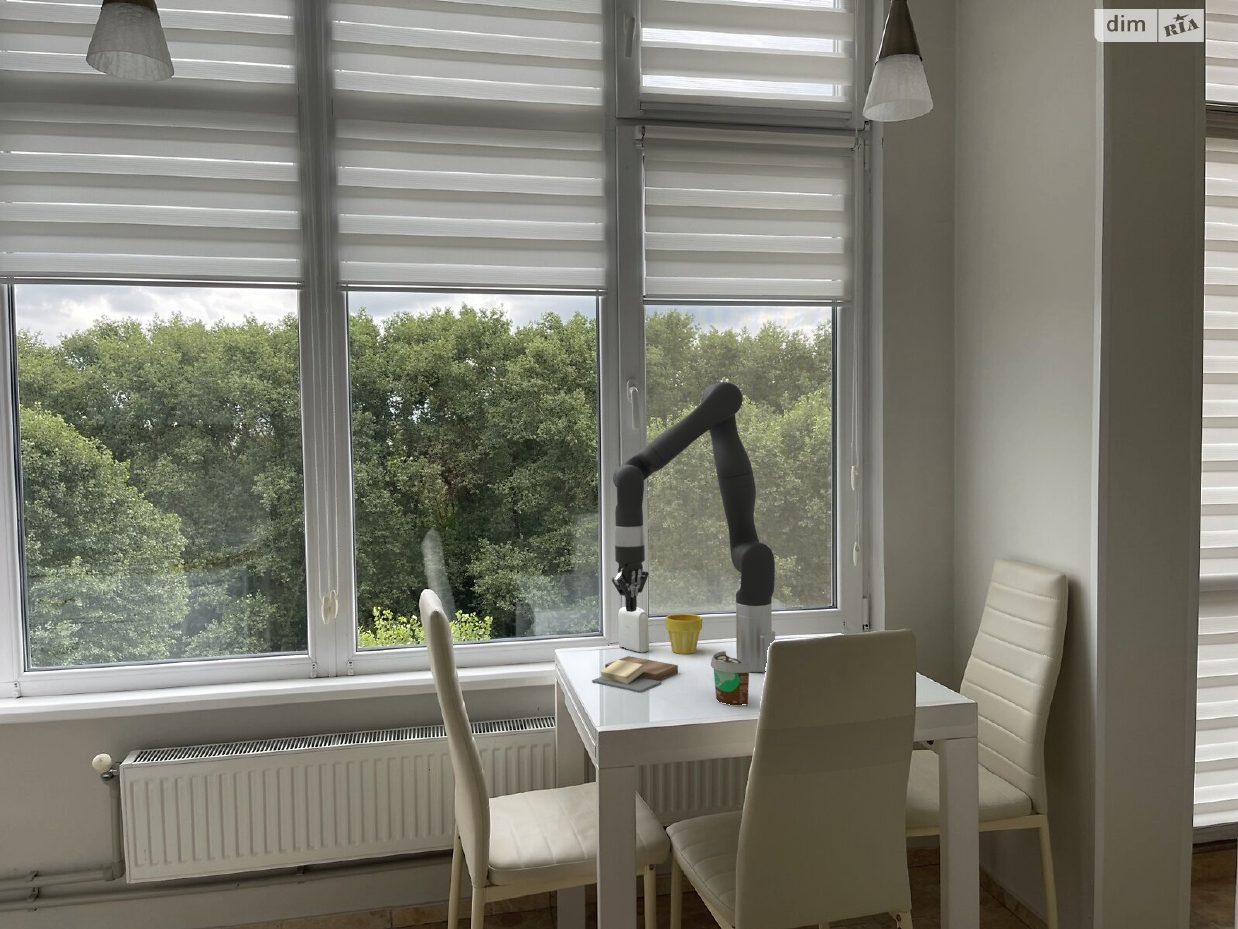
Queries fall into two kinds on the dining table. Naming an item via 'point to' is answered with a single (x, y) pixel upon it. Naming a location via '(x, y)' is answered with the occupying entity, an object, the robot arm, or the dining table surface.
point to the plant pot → (684, 632)
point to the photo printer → (633, 629)
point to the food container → (730, 679)
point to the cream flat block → (622, 671)
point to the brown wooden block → (652, 668)
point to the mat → (631, 684)
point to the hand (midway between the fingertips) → (631, 611)
